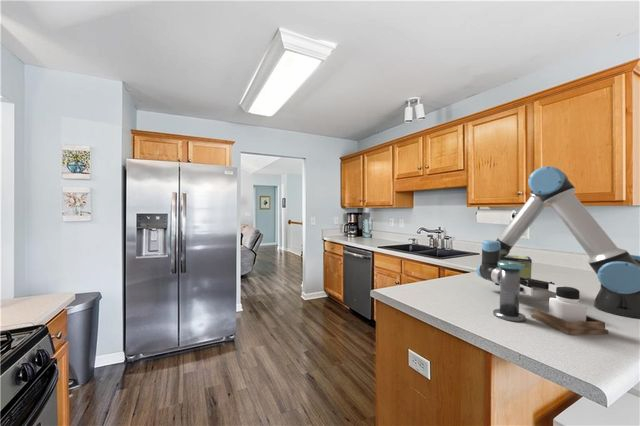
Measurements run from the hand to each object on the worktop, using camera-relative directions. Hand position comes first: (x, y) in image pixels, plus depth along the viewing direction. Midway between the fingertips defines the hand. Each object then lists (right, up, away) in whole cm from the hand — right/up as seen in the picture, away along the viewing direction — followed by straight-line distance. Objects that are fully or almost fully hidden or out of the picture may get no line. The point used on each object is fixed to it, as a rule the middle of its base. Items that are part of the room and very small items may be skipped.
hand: (548, 292), depth 102 cm
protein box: (+18, -9, +45) cm, 49 cm away
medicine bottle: (0, -8, -7) cm, 11 cm away
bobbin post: (-15, -9, 0) cm, 18 cm away
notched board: (+1, -9, -7) cm, 12 cm away
